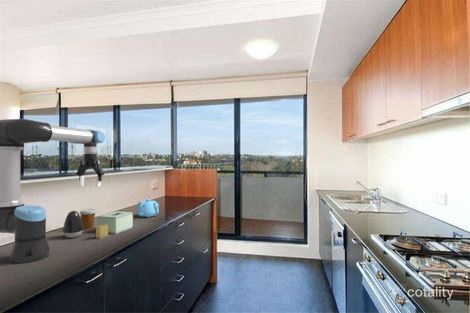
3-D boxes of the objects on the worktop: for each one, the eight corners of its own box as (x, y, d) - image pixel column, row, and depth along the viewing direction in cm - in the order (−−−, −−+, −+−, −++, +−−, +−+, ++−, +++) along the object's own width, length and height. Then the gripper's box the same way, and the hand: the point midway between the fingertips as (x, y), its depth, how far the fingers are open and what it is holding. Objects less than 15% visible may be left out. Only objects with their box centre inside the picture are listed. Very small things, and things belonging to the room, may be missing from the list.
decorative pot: (159, 217, 213) (159, 200, 213) (137, 219, 208) (137, 201, 208) (157, 213, 228) (157, 197, 229) (137, 214, 223) (137, 198, 223)
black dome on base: (60, 240, 155) (60, 213, 155) (66, 235, 165) (66, 209, 165) (80, 238, 157) (80, 212, 158) (85, 233, 167) (85, 208, 168)
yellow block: (100, 238, 157) (100, 226, 157) (96, 238, 158) (96, 226, 158) (108, 236, 163) (107, 224, 163) (103, 235, 164) (103, 223, 164)
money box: (116, 233, 167) (115, 217, 167) (97, 232, 171) (97, 216, 171) (132, 227, 182) (132, 212, 182) (115, 226, 186) (115, 211, 186)
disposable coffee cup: (94, 229, 177) (94, 211, 177) (77, 230, 174) (77, 211, 175) (97, 226, 186) (97, 208, 186) (81, 227, 184) (81, 209, 184)
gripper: (110, 153, 179) (110, 185, 179) (79, 153, 186) (79, 185, 186) (101, 153, 172) (101, 187, 172) (70, 153, 179) (70, 186, 179)
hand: (90, 186), depth 179 cm, fingers open, 13 cm apart
